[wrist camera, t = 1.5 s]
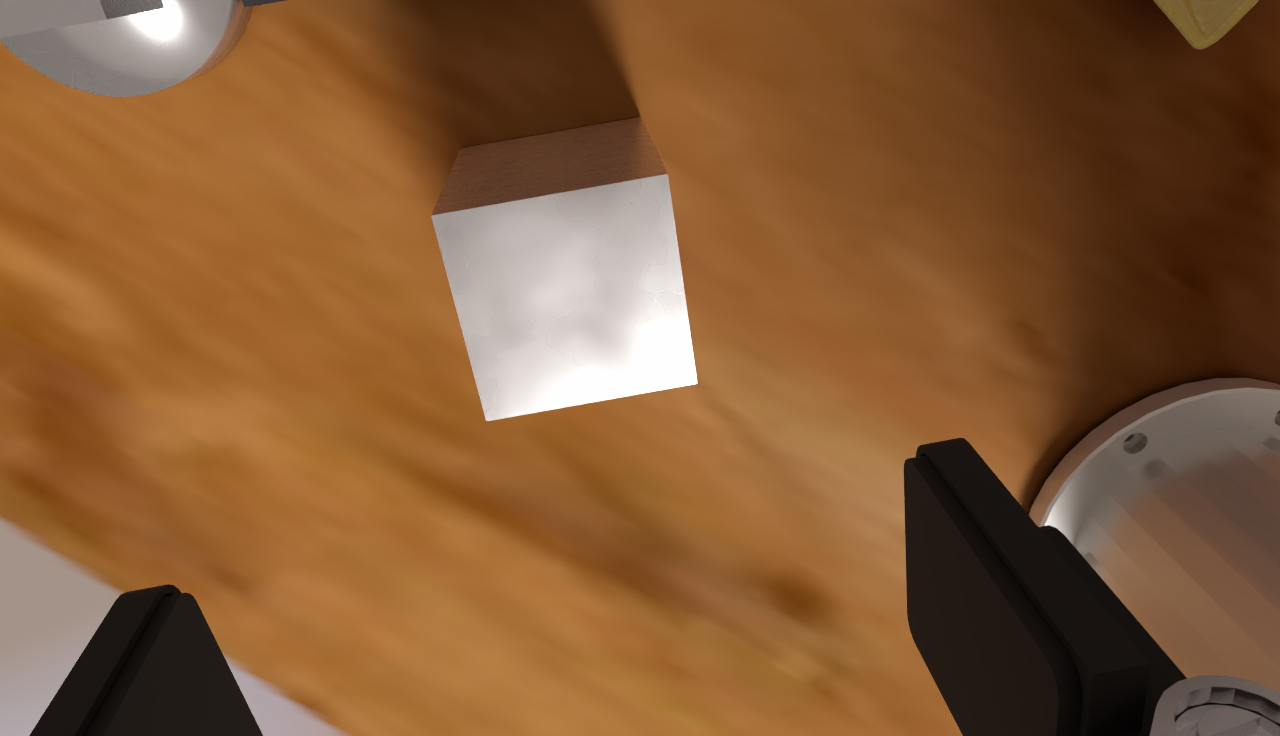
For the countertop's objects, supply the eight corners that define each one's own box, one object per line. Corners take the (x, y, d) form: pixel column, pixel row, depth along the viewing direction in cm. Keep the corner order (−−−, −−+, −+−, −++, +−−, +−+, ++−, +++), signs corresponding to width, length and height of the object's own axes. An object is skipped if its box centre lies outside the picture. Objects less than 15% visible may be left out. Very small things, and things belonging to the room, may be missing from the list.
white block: (640, 117, 26) (667, 173, 20) (666, 285, 29) (697, 383, 22) (460, 148, 26) (431, 215, 20) (501, 314, 29) (486, 421, 22)
